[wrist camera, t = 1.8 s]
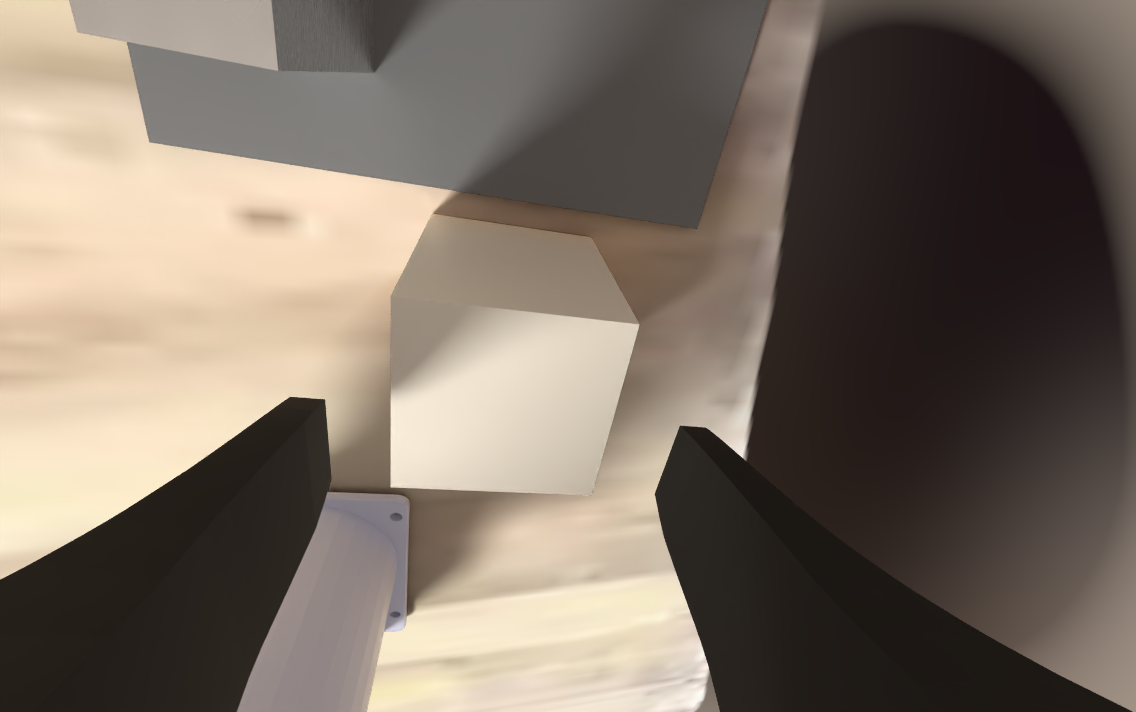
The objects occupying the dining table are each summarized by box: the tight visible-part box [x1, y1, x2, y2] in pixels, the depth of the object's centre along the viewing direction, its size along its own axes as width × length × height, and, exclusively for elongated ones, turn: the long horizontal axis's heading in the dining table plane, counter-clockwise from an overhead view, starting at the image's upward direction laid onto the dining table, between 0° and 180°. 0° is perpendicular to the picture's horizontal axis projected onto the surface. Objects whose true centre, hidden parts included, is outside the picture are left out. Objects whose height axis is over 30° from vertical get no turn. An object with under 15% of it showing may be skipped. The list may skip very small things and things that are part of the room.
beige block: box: [391, 214, 640, 496], centre depth 14 cm, size 5×5×7 cm
